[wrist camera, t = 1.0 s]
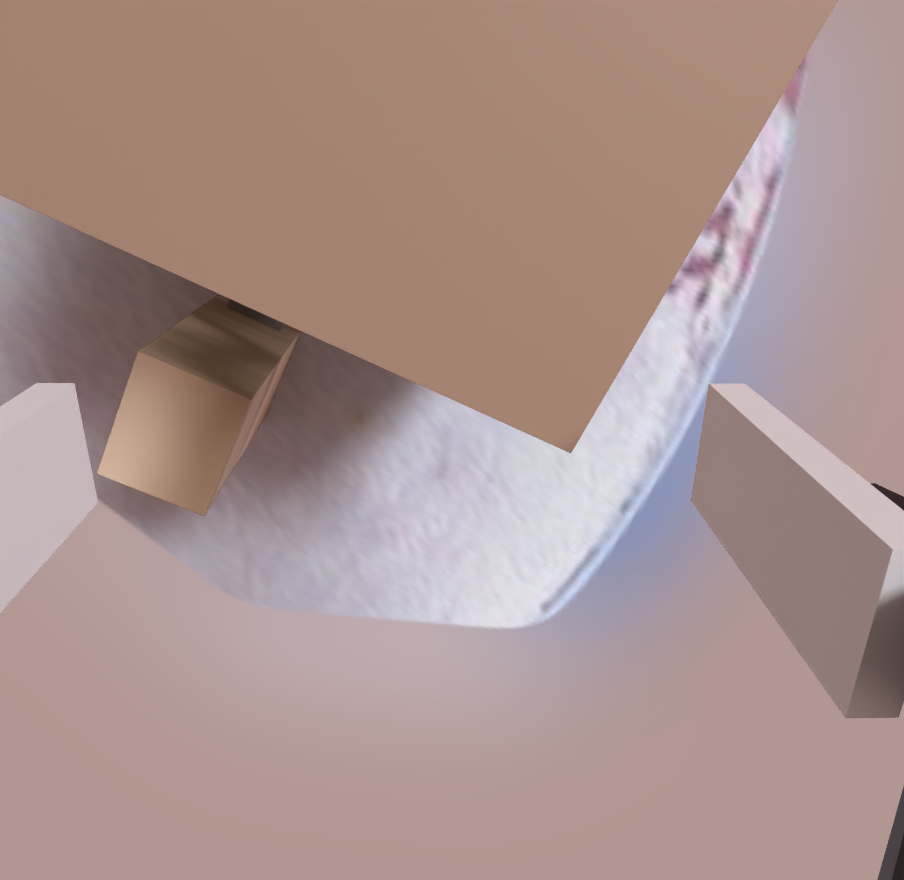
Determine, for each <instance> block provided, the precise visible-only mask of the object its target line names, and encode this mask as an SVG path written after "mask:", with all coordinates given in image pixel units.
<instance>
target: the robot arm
mask: <svg viewBox="0 0 904 880" xmlns="http://www.w3.org/2000/svg"><path fill="white" fill-rule="evenodd" d="M691 501H692V502H693V504H694V506H695V507H696V508H697V510H698V511H699V513H700V514H701V515H702V517H703V518H704V520H705V521H706V522H707V524H708V525H709V526H710V528H711V529H712V531H713V532H714V533H715V535H716V536H717V538H718V539H719V541H720V542H721V544H722V545H723V546H724V548H725V549H726V551H727V552H728V553H729V555H730V556H731V558H732V559H733V560H734V562H735V563H736V564H737V566H738V567H739V569H740V570H741V572H742V573H743V575H744V576H745V577H746V579H747V580H748V581H749V583H750V584H751V586H752V587H753V589H754V590H755V591H756V593H757V594H758V596H759V597H760V598H761V600H762V601H763V603H764V604H765V605H766V607H767V608H768V610H769V611H770V613H771V614H772V615H773V617H774V618H775V619H776V621H777V622H778V624H779V625H780V627H781V628H782V629H783V631H784V632H785V634H786V635H787V636H788V638H789V639H790V641H791V642H792V644H793V645H794V646H795V648H796V649H797V650H798V652H799V653H800V655H801V656H802V658H803V659H804V660H805V661H806V663H807V664H808V666H809V667H810V669H811V670H812V672H813V673H814V675H815V676H816V677H817V678H818V680H819V681H820V683H821V684H822V686H823V687H824V689H825V690H826V691H827V693H828V694H829V696H830V697H831V698H832V700H833V701H834V703H835V704H836V705H837V707H838V708H839V710H840V711H841V712H842V714H843V715H844V717H845V718H888V717H889V718H892V717H899V715H900V711H901V708H902V705H903V702H904V497H903V496H901V495H899V494H897V493H894V492H892V491H890V490H888V489H886V488H883V487H881V486H879V485H877V484H874V483H873V484H870V483H868V482H867V481H866V480H865V479H863V478H862V477H861V476H860V475H858V474H857V473H856V472H854V471H853V470H852V469H851V468H850V467H848V466H847V465H846V464H845V463H843V462H842V461H841V460H840V459H838V458H837V457H836V456H835V455H833V454H832V453H831V452H830V451H828V450H827V449H826V448H825V447H823V446H822V445H821V444H820V443H818V442H817V441H816V440H815V439H813V438H812V437H811V436H810V435H808V434H807V433H806V432H805V431H803V430H802V429H801V428H800V427H798V426H797V425H796V424H795V423H793V422H792V421H791V420H790V419H788V418H787V417H786V416H785V415H783V414H782V413H781V412H779V411H778V410H777V409H776V408H774V407H773V406H772V405H771V404H770V403H768V402H767V401H766V400H765V399H763V398H762V397H761V396H760V395H758V394H757V393H756V392H754V391H753V390H752V389H751V388H750V387H748V386H747V385H746V384H709V386H708V393H707V400H706V407H705V413H704V420H703V425H702V432H701V438H700V445H699V451H698V458H697V464H696V471H695V478H694V484H693V491H692V497H691ZM97 504H98V499H97V494H96V489H95V484H94V479H93V474H92V469H91V464H90V459H89V454H88V449H87V444H86V439H85V434H84V429H83V424H82V419H81V414H80V409H79V403H78V398H77V393H76V388H75V383H36V384H34V385H33V386H31V387H30V388H28V389H26V390H25V391H23V392H22V393H20V394H19V395H17V396H16V397H14V398H12V399H11V400H9V401H8V402H6V403H5V404H3V405H1V406H0V613H1V612H2V611H3V609H4V608H5V607H6V606H7V605H8V604H9V603H10V601H11V600H12V599H13V598H14V597H15V596H16V595H17V594H18V593H19V591H20V590H21V589H22V588H23V587H24V586H25V585H26V583H27V582H28V581H29V580H30V579H31V578H32V577H33V576H34V575H35V573H36V572H37V571H38V570H39V569H40V568H41V566H43V564H44V563H45V562H46V561H47V560H48V559H49V558H50V557H51V555H52V554H53V553H54V552H55V551H56V550H57V548H58V547H59V546H60V545H61V544H62V543H63V542H64V541H65V540H66V539H67V537H68V536H69V535H70V534H71V533H72V532H73V531H74V530H75V528H76V527H77V526H78V525H79V524H80V523H81V522H82V521H83V519H84V518H85V517H86V516H87V515H88V514H89V513H90V512H91V510H92V509H93V508H94V507H95V506H96V505H97ZM878 880H904V787H903V791H902V794H901V798H900V802H899V805H898V809H897V812H896V816H895V820H894V823H893V827H892V830H891V834H890V837H889V841H888V844H887V848H886V851H885V855H884V859H883V862H882V866H881V870H880V873H879V877H878Z"/></svg>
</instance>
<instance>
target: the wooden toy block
mask: <svg viewBox="0 0 904 880" xmlns="http://www.w3.org/2000/svg"><path fill="white" fill-rule="evenodd" d="M300 332H301V331H300V330H298V329H295V328H293V327H291V326H289V325H287V324H284V323H282V322H280V321H278V320H276V319H273V318H271V317H269V316H267V315H265V314H262V313H260V312H258V311H256V310H253V309H251V308H249V307H247V306H245V305H242V304H240V303H238V302H236V301H234V300H231V299H229V298H227V297H225V296H223V295H220V294H219V295H217V296H216V297H214V298H213V299H211V300H210V301H209V302H207V303H206V304H204V305H203V306H201V307H200V308H199V309H197V310H196V311H194V312H193V313H192V314H190V315H189V316H187V317H186V318H184V319H183V320H182V321H180V322H179V323H177V324H176V325H174V326H173V327H172V328H170V329H169V330H167V331H166V332H164V333H163V334H162V335H160V336H159V337H157V338H156V339H155V340H153V341H152V342H150V343H149V344H147V345H146V346H145V347H143V348H142V349H140V350H139V351H138V352H137V355H136V358H135V361H134V364H133V367H132V370H131V373H130V376H129V379H128V382H127V385H126V388H125V391H124V394H123V397H122V400H121V403H120V406H119V409H118V412H117V415H116V418H115V421H114V424H113V427H112V430H111V433H110V436H109V439H108V442H107V445H106V448H105V451H104V454H103V457H102V460H101V463H100V466H99V469H98V472H97V474H99V475H101V476H104V477H106V478H109V479H111V480H114V481H117V482H119V483H122V484H124V485H127V486H129V487H132V488H134V489H137V490H139V491H142V492H144V493H147V494H149V495H152V496H155V497H157V498H160V499H162V500H165V501H167V502H170V503H172V504H175V505H177V506H180V507H182V508H185V509H187V510H190V511H193V512H195V513H198V514H200V515H203V516H205V514H206V513H207V511H208V509H209V508H210V506H211V505H212V503H213V501H214V500H215V498H216V496H217V495H218V493H219V492H220V490H221V488H222V487H223V485H224V484H225V482H226V480H227V479H228V477H229V476H230V474H231V472H232V471H233V469H234V468H235V466H236V464H237V463H238V461H239V459H240V458H241V456H242V455H243V453H244V451H245V450H246V448H247V447H248V445H249V443H250V442H251V440H252V439H253V437H254V435H255V434H256V432H257V430H258V429H259V427H260V426H261V424H262V422H263V421H264V419H265V416H266V414H267V411H268V409H269V407H270V404H271V402H272V399H273V397H274V395H275V392H276V390H277V387H278V385H279V383H280V380H281V378H282V375H283V373H284V371H285V368H286V366H287V363H288V361H289V359H290V356H291V354H292V351H293V349H294V346H295V344H296V342H297V339H298V337H299V334H300Z"/></svg>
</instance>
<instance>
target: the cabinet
mask: <svg viewBox="0 0 904 880" xmlns="http://www.w3.org/2000/svg"><path fill="white" fill-rule="evenodd" d="M837 1H838V0H0V195H2V196H4V197H6V198H8V199H11V200H13V201H15V202H17V203H19V204H22V205H24V206H26V207H28V208H30V209H33V210H35V211H37V212H39V213H41V214H44V215H46V216H48V217H50V218H53V219H55V220H57V221H59V222H61V223H64V224H66V225H68V226H70V227H72V228H75V229H77V230H79V231H81V232H83V233H86V234H88V235H90V236H92V237H94V238H97V239H99V240H101V241H103V242H106V243H108V244H110V245H112V246H114V247H117V248H119V249H121V250H123V251H125V252H128V253H130V254H132V255H134V256H136V257H139V258H141V259H143V260H145V261H147V262H150V263H152V264H154V265H156V266H159V267H161V268H163V269H165V270H167V271H170V272H172V273H174V274H176V275H178V276H181V277H183V278H185V279H187V280H189V281H192V282H194V283H196V284H198V285H200V286H203V287H205V288H207V289H209V290H212V291H214V292H216V293H218V294H220V295H223V296H225V297H227V298H229V299H231V300H234V301H236V302H238V303H240V304H242V305H245V306H247V307H249V308H251V309H253V310H256V311H258V312H260V313H262V314H265V315H267V316H269V317H271V318H273V319H276V320H278V321H280V322H282V323H284V324H287V325H289V326H291V327H293V328H295V329H298V330H300V331H302V332H304V333H306V334H309V335H311V336H313V337H315V338H318V339H320V340H322V341H324V342H326V343H329V344H331V345H333V346H335V347H337V348H340V349H342V350H344V351H346V352H348V353H351V354H353V355H355V356H357V357H359V358H362V359H364V360H366V361H368V362H370V363H373V364H375V365H377V366H379V367H382V368H384V369H386V370H388V371H390V372H393V373H395V374H397V375H399V376H401V377H404V378H406V379H408V380H410V381H412V382H415V383H417V384H419V385H421V386H423V387H426V388H428V389H430V390H432V391H435V392H437V393H439V394H441V395H443V396H446V397H448V398H450V399H452V400H454V401H457V402H459V403H461V404H463V405H465V406H468V407H470V408H472V409H474V410H476V411H479V412H481V413H483V414H485V415H488V416H490V417H492V418H494V419H496V420H499V421H501V422H503V423H505V424H507V425H510V426H512V427H514V428H516V429H518V430H521V431H523V432H525V433H527V434H529V435H532V436H534V437H536V438H538V439H541V440H543V441H545V442H547V443H549V444H552V445H554V446H556V447H558V448H560V449H563V450H565V451H567V452H569V453H571V452H572V450H573V449H574V447H575V445H576V444H577V442H578V440H579V439H580V437H581V435H582V434H583V432H584V430H585V428H586V427H587V425H588V423H589V422H590V420H591V418H592V417H593V415H594V413H595V411H596V410H597V408H598V406H599V405H600V403H601V401H602V400H603V398H604V396H605V395H606V393H607V391H608V389H609V388H610V386H611V384H612V383H613V381H614V379H615V378H616V376H617V374H618V373H619V371H620V369H621V367H622V366H623V364H624V362H625V361H626V359H627V357H628V356H629V354H630V352H631V350H632V349H633V347H634V345H635V344H636V342H637V340H638V339H639V337H640V335H641V334H642V332H643V330H644V328H645V327H646V325H647V323H648V322H649V320H650V318H651V317H652V315H653V313H654V311H655V310H656V308H657V306H658V305H659V303H660V301H661V300H662V298H663V296H664V295H665V293H666V291H667V289H668V288H669V286H670V284H671V283H672V281H673V279H674V278H675V276H676V274H677V272H678V271H679V269H680V267H681V266H682V264H683V262H684V261H685V259H686V257H687V256H688V254H689V252H690V250H691V249H692V247H693V245H694V244H695V242H696V240H697V239H698V237H699V235H700V234H701V232H702V230H703V228H704V227H705V225H706V223H707V222H708V220H709V218H710V217H711V215H712V213H713V211H714V210H715V208H716V206H717V205H718V203H719V201H720V200H721V198H722V196H723V195H724V193H725V191H726V189H727V188H728V186H729V184H730V183H731V181H732V179H733V178H734V176H735V174H736V172H737V171H738V169H739V167H740V166H741V164H742V162H743V161H744V159H745V157H746V156H747V154H748V152H749V150H750V149H751V147H752V145H753V144H754V142H755V140H756V139H757V137H758V135H759V133H760V132H761V130H762V128H763V127H764V125H765V123H766V122H767V120H768V118H769V117H770V115H771V113H772V111H773V110H774V108H775V106H776V105H777V103H778V101H779V100H780V98H781V96H782V95H783V93H784V91H785V89H786V88H787V86H788V84H789V83H790V81H791V79H792V78H793V76H794V74H795V72H796V71H797V69H798V67H799V66H800V64H801V62H802V61H803V59H804V57H805V56H806V54H807V52H808V50H809V49H810V47H811V45H812V44H813V42H814V40H815V39H816V37H817V35H818V33H819V32H820V30H821V28H822V27H823V25H824V23H825V22H826V20H827V18H828V17H829V15H830V13H831V11H832V10H833V7H834V6H835V5H836V3H837Z"/></svg>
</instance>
